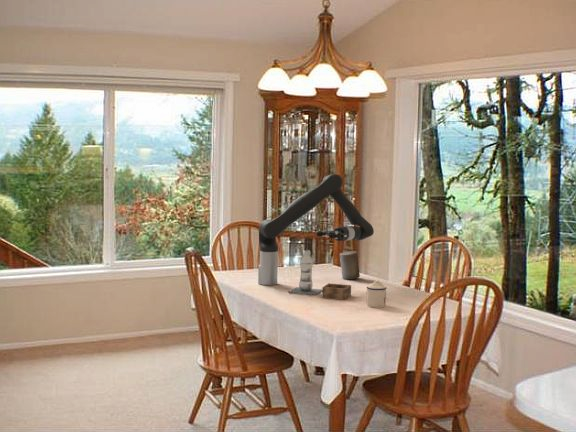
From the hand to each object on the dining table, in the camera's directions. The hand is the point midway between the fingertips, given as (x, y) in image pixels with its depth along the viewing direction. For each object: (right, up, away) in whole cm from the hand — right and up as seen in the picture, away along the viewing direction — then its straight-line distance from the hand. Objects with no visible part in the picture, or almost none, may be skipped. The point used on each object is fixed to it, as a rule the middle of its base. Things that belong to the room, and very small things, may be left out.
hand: (323, 235), depth 358 cm
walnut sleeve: (+6, -29, -15) cm, 33 cm away
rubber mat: (-9, -28, -6) cm, 30 cm away
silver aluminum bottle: (-9, -27, -6) cm, 29 cm away
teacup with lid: (+22, -31, -31) cm, 50 cm away
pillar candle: (+17, -24, +31) cm, 42 cm away
